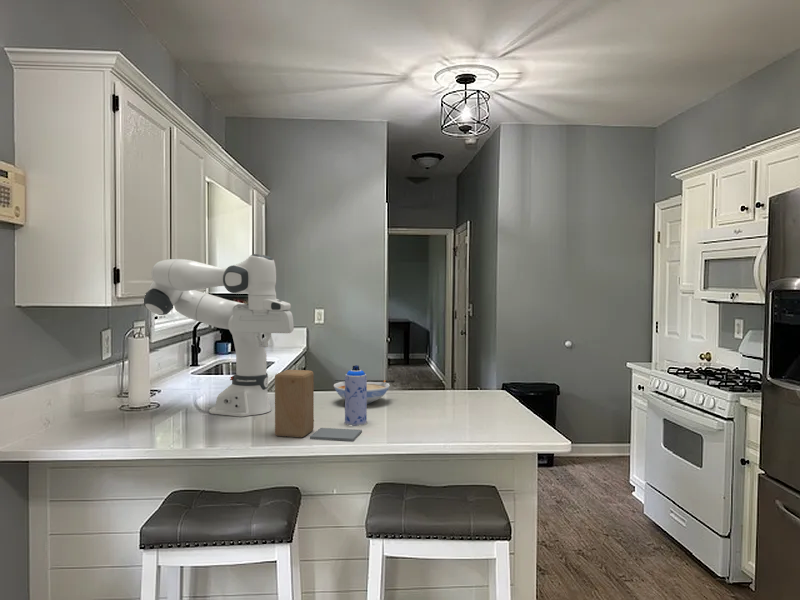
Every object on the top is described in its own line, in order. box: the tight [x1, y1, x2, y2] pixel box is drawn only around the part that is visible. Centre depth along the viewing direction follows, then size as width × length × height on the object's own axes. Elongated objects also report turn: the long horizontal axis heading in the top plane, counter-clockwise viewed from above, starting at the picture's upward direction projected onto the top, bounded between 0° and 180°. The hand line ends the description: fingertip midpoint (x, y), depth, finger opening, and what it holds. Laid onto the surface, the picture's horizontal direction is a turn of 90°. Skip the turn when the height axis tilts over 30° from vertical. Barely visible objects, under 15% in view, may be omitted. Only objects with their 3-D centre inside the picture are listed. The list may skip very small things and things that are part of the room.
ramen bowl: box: [333, 379, 396, 405], centre depth 236 cm, size 25×23×8 cm
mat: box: [309, 427, 363, 442], centre depth 186 cm, size 14×11×1 cm
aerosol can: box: [344, 365, 368, 427], centre depth 203 cm, size 8×8×20 cm
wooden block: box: [274, 369, 315, 438], centre depth 189 cm, size 10×10×20 cm
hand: (262, 346), depth 190 cm, fingers closed
